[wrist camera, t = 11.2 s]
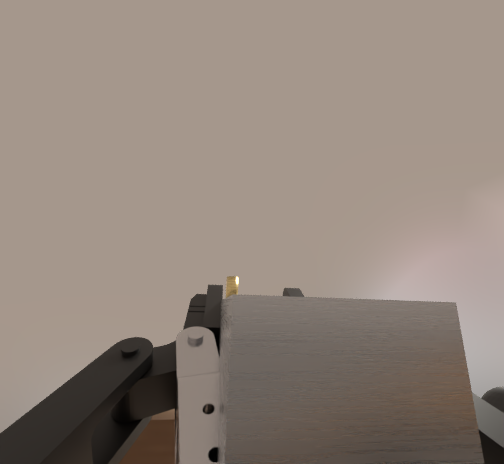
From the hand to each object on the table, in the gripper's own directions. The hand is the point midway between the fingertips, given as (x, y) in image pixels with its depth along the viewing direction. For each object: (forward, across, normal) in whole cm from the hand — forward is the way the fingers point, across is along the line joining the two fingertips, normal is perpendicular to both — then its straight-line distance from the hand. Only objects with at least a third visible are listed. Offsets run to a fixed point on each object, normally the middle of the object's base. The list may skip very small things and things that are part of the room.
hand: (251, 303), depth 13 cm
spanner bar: (+3, 0, +5) cm, 6 cm away
